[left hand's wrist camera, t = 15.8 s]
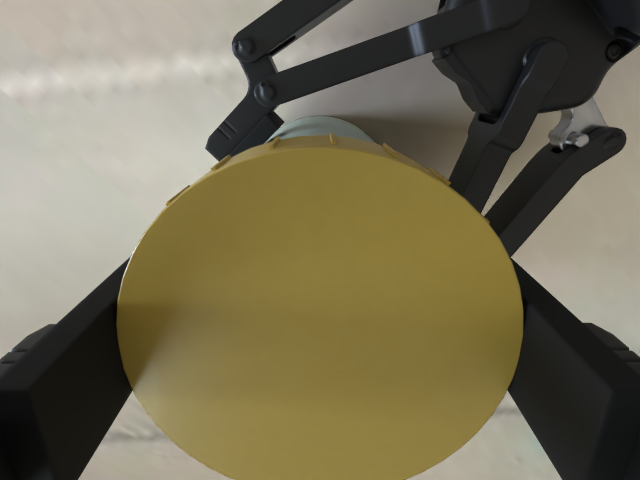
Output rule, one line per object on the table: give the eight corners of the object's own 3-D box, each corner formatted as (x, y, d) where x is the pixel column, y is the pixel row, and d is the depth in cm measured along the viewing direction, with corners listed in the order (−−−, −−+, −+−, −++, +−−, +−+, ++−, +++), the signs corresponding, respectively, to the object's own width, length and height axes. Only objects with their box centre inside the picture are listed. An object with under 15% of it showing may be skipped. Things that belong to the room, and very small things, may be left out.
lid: (78, 300, 12) (28, 345, 10) (327, 40, 10) (329, 29, 8) (314, 481, 15) (313, 546, 13) (558, 310, 12) (606, 357, 10)
